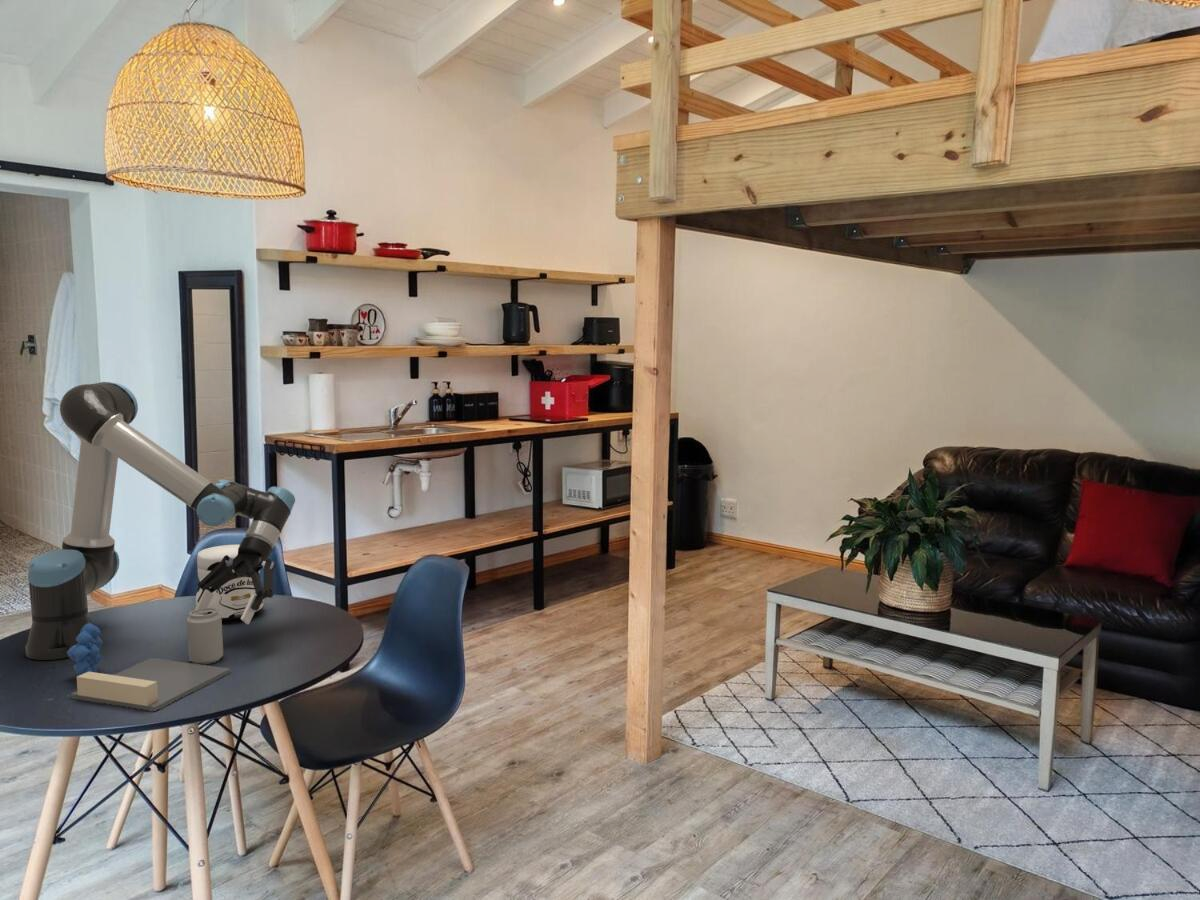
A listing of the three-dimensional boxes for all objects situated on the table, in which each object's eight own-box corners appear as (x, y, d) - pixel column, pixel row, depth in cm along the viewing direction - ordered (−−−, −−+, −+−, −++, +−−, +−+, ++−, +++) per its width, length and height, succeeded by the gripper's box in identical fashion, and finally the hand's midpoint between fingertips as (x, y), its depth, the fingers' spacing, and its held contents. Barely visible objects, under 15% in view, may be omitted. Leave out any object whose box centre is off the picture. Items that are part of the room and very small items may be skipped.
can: (215, 666, 204) (212, 615, 202) (182, 665, 204) (179, 615, 202) (229, 654, 211) (226, 606, 210) (198, 654, 211) (195, 605, 210)
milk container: (240, 627, 231) (237, 560, 229) (182, 622, 235) (178, 556, 232) (277, 607, 248) (274, 545, 246) (222, 603, 251) (219, 542, 249)
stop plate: (70, 698, 185) (69, 675, 184) (152, 662, 206) (151, 641, 205) (154, 711, 179) (153, 688, 178) (230, 672, 199) (229, 651, 199)
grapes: (78, 668, 202) (74, 618, 200) (110, 666, 203) (107, 616, 201) (58, 688, 190) (54, 634, 189) (92, 686, 192) (88, 633, 190)
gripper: (308, 554, 221) (272, 631, 209) (225, 547, 228) (186, 621, 216) (294, 538, 215) (256, 616, 203) (209, 531, 223) (168, 606, 210)
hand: (220, 619), depth 210 cm, fingers open, 13 cm apart
